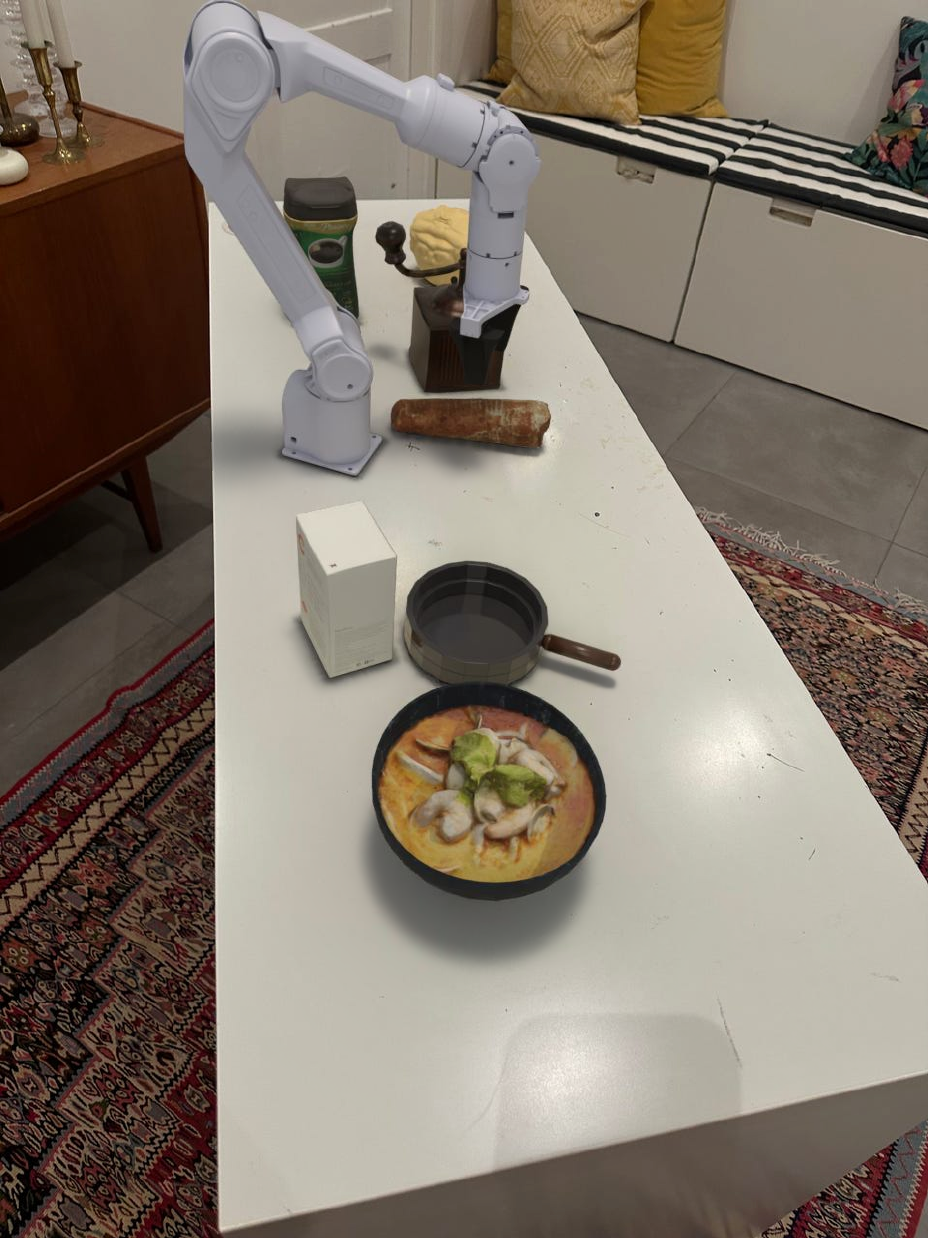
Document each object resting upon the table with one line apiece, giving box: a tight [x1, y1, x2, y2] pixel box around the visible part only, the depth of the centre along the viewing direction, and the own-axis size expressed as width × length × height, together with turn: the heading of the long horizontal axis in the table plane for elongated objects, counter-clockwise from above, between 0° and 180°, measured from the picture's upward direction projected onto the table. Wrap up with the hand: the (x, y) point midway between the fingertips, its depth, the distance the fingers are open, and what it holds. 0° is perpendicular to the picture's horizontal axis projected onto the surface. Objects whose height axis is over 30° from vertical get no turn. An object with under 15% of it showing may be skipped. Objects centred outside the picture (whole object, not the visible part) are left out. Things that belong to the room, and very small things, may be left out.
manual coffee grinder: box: [374, 220, 505, 393], centre depth 110 cm, size 16×11×18 cm
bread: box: [390, 397, 552, 448], centre depth 104 cm, size 6×19×6 cm, turn 86°
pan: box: [403, 560, 549, 685], centre depth 82 cm, size 13×13×4 cm
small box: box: [295, 500, 398, 678], centre depth 77 cm, size 8×6×13 cm
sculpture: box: [409, 204, 469, 287], centre depth 131 cm, size 12×12×11 cm
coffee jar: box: [282, 175, 360, 320], centre depth 116 cm, size 10×8×19 cm
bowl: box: [371, 681, 607, 902], centre depth 65 cm, size 17×17×10 cm
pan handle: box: [542, 633, 622, 672], centre depth 80 cm, size 8×2×2 cm, turn 71°
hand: (486, 365), depth 98 cm, fingers open, 7 cm apart
